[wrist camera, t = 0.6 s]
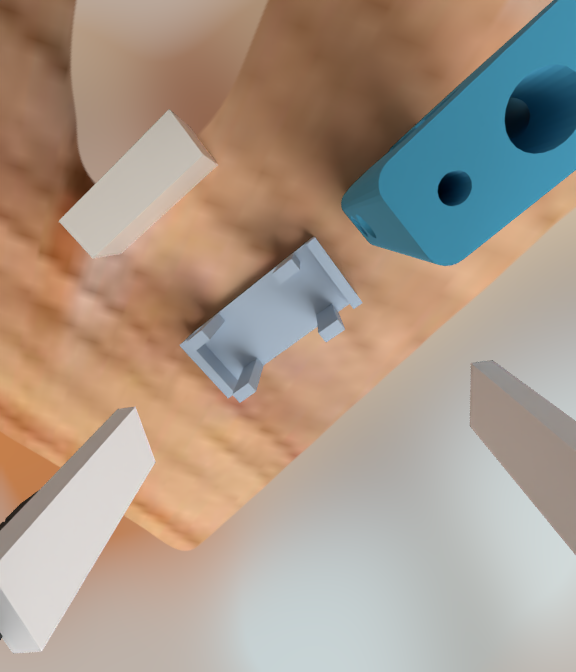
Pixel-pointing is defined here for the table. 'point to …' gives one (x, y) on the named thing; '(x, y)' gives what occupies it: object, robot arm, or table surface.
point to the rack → (271, 319)
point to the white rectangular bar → (139, 188)
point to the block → (478, 150)
